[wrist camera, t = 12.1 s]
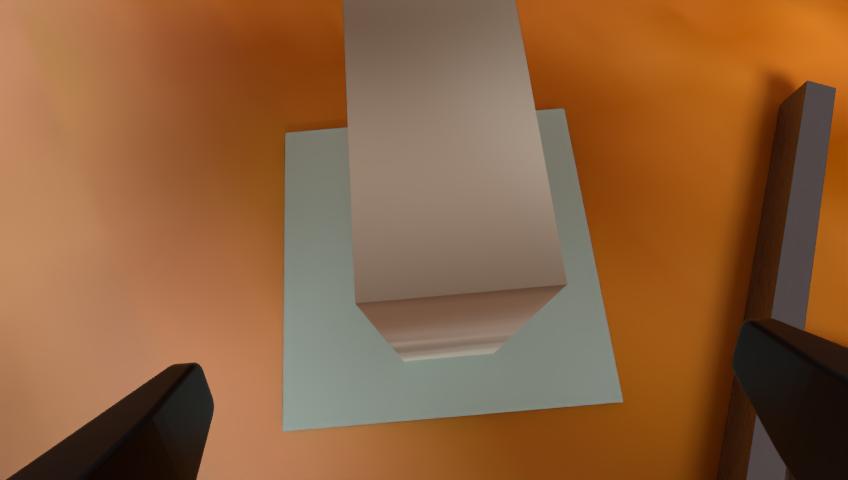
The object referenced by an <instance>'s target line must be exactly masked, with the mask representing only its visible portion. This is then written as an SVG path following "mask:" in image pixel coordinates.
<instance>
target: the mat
mask: <svg viewBox="0 0 848 480" xmlns="http://www.w3.org/2000/svg"><path fill="white" fill-rule="evenodd" d="M536 115H537V121H538V126H539V132H540V137H541V143H542V148H543V154H544V159H545V165H546V170H547V176H548V181H549V186H550V192H551V197H552V203H553V208H554V214H555V219H556V225H557V230H558V236H559V241H560V247H561V252H562V258H563V263H564V269H565V274H566V279H567V285H566V286H565V287H564V288H563V289H562V290H561V291H560V292H559V293H558V294H556V295H555V296H554V297H553V298H552V299H551V300H550V301H549V302H548V303H547V304H546V305H545V306H544V307H543V308H542V309H540V310H539V311H538V312H537V313H536V314H535V315H534V316H533V317H532V318H531V319H530V320H529V321H528V322H527V323H526V324H524V325H523V326H522V327H521V328H520V329H519V330H518V331H517V332H516V333H515V334H514V335H513V336H512V337H511V338H510V339H508V340H507V341H506V342H505V343H504V344H503V345H502V346H501V347H500V348H499V349H498V350H497V351H496V352H495V353H494V354H483V355H472V356H461V357H450V358H438V359H427V360H416V361H405V362H404V361H403V360H402V359H401V357H400V356H399V355H398V354H397V353H396V352H395V350H394V349H393V348H392V347H391V346H390V344H389V343H388V342H387V341H386V340H385V338H384V337H383V336H382V335H381V334H380V333H379V331H378V330H377V329H376V328H375V327H374V325H373V324H372V323H371V322H370V321H369V319H368V318H367V317H366V316H365V315H364V314H363V312H362V311H361V310H360V309H359V308H358V306H357V305H356V304H355V290H354V266H353V242H352V217H351V193H350V168H349V144H348V127H344V128H333V129H322V130H311V131H299V132H288V133H285V225H284V340H283V432H284V431H296V430H307V429H319V428H330V427H342V426H353V425H365V424H376V423H388V422H399V421H411V420H422V419H434V418H445V417H457V416H468V415H480V414H491V413H503V412H514V411H526V410H537V409H549V408H560V407H572V406H583V405H595V404H606V403H618V402H623V398H622V393H621V388H620V383H619V378H618V373H617V368H616V363H615V358H614V353H613V348H612V343H611V338H610V333H609V328H608V323H607V318H606V313H605V308H604V303H603V298H602V294H601V289H600V284H599V279H598V274H597V269H596V264H595V259H594V254H593V249H592V244H591V239H590V234H589V229H588V224H587V219H586V214H585V209H584V204H583V199H582V194H581V189H580V184H579V179H578V174H577V169H576V164H575V159H574V155H573V150H572V145H571V140H570V135H569V130H568V125H567V120H566V115H565V110H564V108H559V109H548V110H536Z"/></svg>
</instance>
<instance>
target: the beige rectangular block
mask: <svg viewBox="0 0 848 480" xmlns="http://www.w3.org/2000/svg"><path fill="white" fill-rule="evenodd" d="M343 21H344V46H345V70H346V95H347V119H348V144H349V168H350V193H351V217H352V242H353V266H354V290H355V304H356V305H357V306H358V308H359V309H360V310H361V311H362V312H363V314H364V315H365V316H366V317H367V318H368V319H369V321H370V322H371V323H372V324H373V325H374V327H375V328H376V329H377V330H378V331H379V333H380V334H381V335H382V336H383V337H384V338H385V340H386V341H387V342H388V343H389V344H390V346H391V347H392V348H393V349H394V350H395V352H396V353H397V354H398V355H399V356H400V357H401V359H402V360H403V361H404V362H405V361H416V360H427V359H438V358H450V357H461V356H472V355H483V354H494V353H495V352H496V351H497V350H498V349H499V348H500V347H501V346H502V345H503V344H504V343H505V342H506V341H507V340H508V339H510V338H511V337H512V336H513V335H514V334H515V333H516V332H517V331H518V330H519V329H520V328H521V327H522V326H523V325H524V324H526V323H527V322H528V321H529V320H530V319H531V318H532V317H533V316H534V315H535V314H536V313H537V312H538V311H539V310H540V309H542V308H543V307H544V306H545V305H546V304H547V303H548V302H549V301H550V300H551V299H552V298H553V297H554V296H555V295H556V294H558V293H559V292H560V291H561V290H562V289H563V288H564V287H565V286H566V285H567V279H566V274H565V269H564V263H563V258H562V252H561V247H560V241H559V236H558V230H557V225H556V219H555V214H554V208H553V203H552V197H551V192H550V186H549V181H548V176H547V170H546V165H545V159H544V154H543V148H542V143H541V137H540V132H539V126H538V121H537V115H536V110H535V104H534V99H533V93H532V88H531V83H530V77H529V72H528V66H527V61H526V55H525V50H524V44H523V39H522V33H521V28H520V22H519V17H518V11H517V6H516V0H343Z"/></svg>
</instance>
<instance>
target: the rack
mask: <svg viewBox="0 0 848 480" xmlns="http://www.w3.org/2000/svg"><path fill="white" fill-rule="evenodd" d="M835 92H836V88H833V87H829V86H825V85H822V84H818V83H814V82H810V81H806V82H805V83H804V84H803V85H802V86H801V87H800V88H799V89H797V90H796V91H795V92H794V93H793V94H792V95H791V96H789V97H788V98H787V99H786V100H785V101H784V102H783V103H781V105H780V111H779V116H778V122H777V128H776V134H775V140H774V146H773V152H772V158H771V164H770V170H769V175H768V181H767V187H766V193H765V199H764V205H763V211H762V217H761V223H760V229H759V234H758V240H757V246H756V252H755V258H754V264H753V270H752V276H751V282H750V288H749V293H748V299H747V305H746V311H745V317H744V321H746V320H749V319H761V318H773V319H776V320H779V321H781V322H784V323H786V324H789V325H791V326H794V327H796V328H799V329H801V330H803V331H804V328H805V321H806V313H807V305H808V298H809V290H810V282H811V275H812V267H813V260H814V252H815V244H816V237H817V229H818V221H819V214H820V206H821V199H822V191H823V183H824V176H825V168H826V160H827V153H828V145H829V138H830V130H831V122H832V115H833V107H834V99H835ZM785 473H786V465H785V464H784V462H783V461H782V459H781V457H780V456H779V454H778V452H777V450H776V449H775V447H774V445H773V444H772V442H771V440H770V438H769V436H768V434H767V433H766V431H765V429H764V427H763V425H762V423H761V421H760V420H759V418H758V416H757V414H756V412H755V410H754V409H753V407H752V405H751V403H750V401H749V399H748V397H747V396H746V394H745V392H744V390H743V388H742V386H741V385H740V383H739V381H738V379H737V377H736V375H735V376H734V382H733V388H732V394H731V400H730V406H729V411H728V417H727V423H726V429H725V435H724V441H723V447H722V453H721V459H720V465H719V471H718V476H717V480H785Z"/></svg>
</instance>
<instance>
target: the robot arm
mask: <svg viewBox="0 0 848 480" xmlns="http://www.w3.org/2000/svg"><path fill="white" fill-rule="evenodd" d="M732 366H733V370H734V373H735V375H736V377H737V379H738V381H739V383H740V385H741V386H742V388H743V390H744V392H745V394H746V396H747V397H748V399H749V401H750V403H751V405H752V407H753V409H754V410H755V412H756V414H757V416H758V418H759V420H760V421H761V423H762V425H763V427H764V429H765V431H766V433H767V434H768V436H769V438H770V440H771V442H772V444H773V445H774V447H775V449H776V450H777V452H778V454H779V456H780V457H781V459H782V461H783V462H784V464H785V465H786V467H787V468H788V470H789V472H790V473H791V475H792V476H793V478H794V479H795V480H848V348H846V347H843V346H841V345H838V344H836V343H833V342H831V341H828V340H826V339H823V338H821V337H818V336H816V335H813V334H811V333H808V332H806V331H803V330H801V329H799V328H796V327H794V326H791V325H789V324H786V323H784V322H781V321H779V320H776V319H773V318H761V319H749V320H746V321H744V322H743V323H742V325H741V327H740V330H739V334H738V338H737V342H736V346H735V350H734V354H733V358H732ZM213 411H214V403H213V398H212V395H211V392H210V389H209V386H208V383H207V381H206V378H205V375H204V372H203V370H202V367H201V366H200V365H199V364H197V363H183V364H174V365H171V366H170V367H168V368H167V369H165V370H164V371H162V372H161V373H159V374H158V375H156V376H155V377H154V378H152V379H151V380H149V381H148V382H146V383H145V384H143V385H142V386H141V387H139V388H138V389H136V390H135V391H133V392H132V393H130V394H129V395H128V396H126V397H125V398H123V399H122V400H120V401H119V402H117V403H116V404H115V405H113V406H112V407H110V408H109V409H107V410H106V411H105V412H103V413H102V414H100V415H99V416H97V417H96V418H94V419H93V420H92V421H90V422H89V423H87V424H86V425H84V426H83V427H81V428H80V429H79V430H77V431H76V432H74V433H73V434H71V435H70V436H68V437H67V438H66V439H64V440H63V441H61V442H60V443H58V444H57V445H55V446H54V447H53V448H51V449H50V450H48V451H47V452H45V453H44V454H42V455H41V456H40V457H38V458H37V459H35V460H34V461H32V462H31V463H29V464H28V465H27V466H25V467H24V468H22V469H21V470H19V471H18V472H16V473H15V474H14V475H12V476H11V477H9V478H8V479H6V480H196V479H197V475H198V471H199V467H200V463H201V459H202V456H203V452H204V448H205V444H206V440H207V436H208V432H209V428H210V424H211V420H212V417H213Z"/></svg>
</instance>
